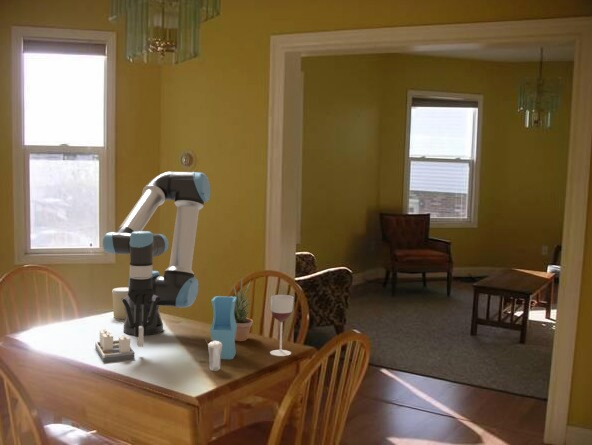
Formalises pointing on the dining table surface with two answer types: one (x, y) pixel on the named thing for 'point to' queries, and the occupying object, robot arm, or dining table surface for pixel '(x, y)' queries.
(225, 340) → the vase
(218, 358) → the milkshake
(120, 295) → the coffee cup
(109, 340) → the tab
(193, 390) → the dining table surface
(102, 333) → the tab
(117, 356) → the switch bank
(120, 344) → the tab
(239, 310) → the potted plant
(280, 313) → the wineglass
